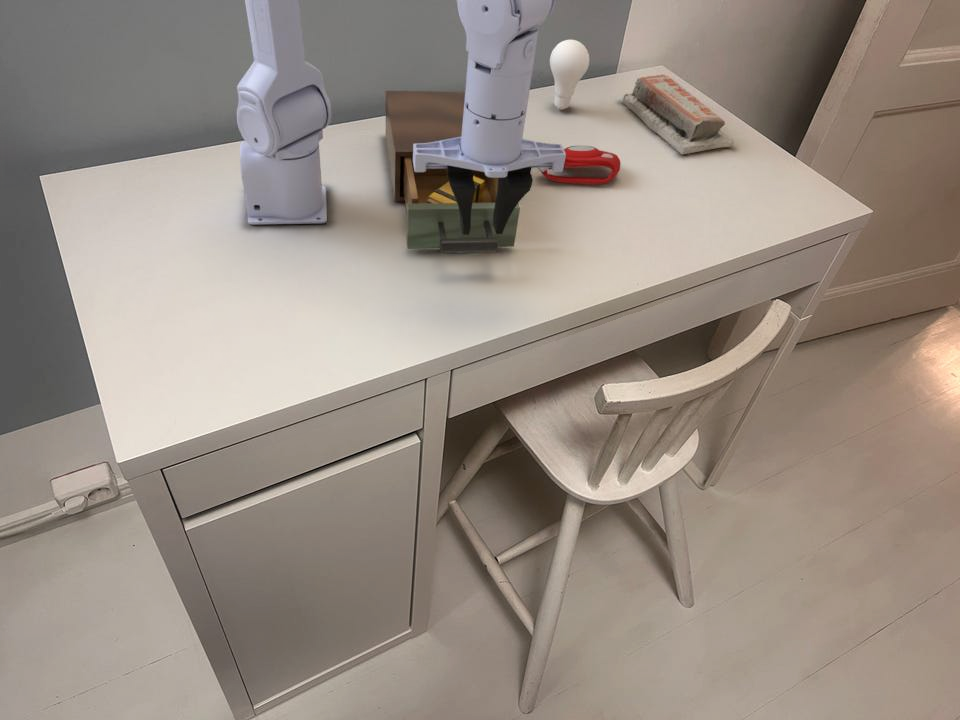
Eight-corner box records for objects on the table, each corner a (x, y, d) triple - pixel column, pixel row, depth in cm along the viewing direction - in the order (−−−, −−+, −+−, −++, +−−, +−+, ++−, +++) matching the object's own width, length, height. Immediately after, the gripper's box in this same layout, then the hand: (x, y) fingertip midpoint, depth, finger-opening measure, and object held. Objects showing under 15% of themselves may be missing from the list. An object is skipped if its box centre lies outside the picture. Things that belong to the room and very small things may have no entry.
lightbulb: (539, 99, 120) (550, 32, 112) (575, 101, 121) (588, 34, 113) (545, 117, 116) (557, 48, 108) (582, 118, 117) (596, 50, 109)
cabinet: (501, 200, 98) (508, 151, 93) (394, 202, 95) (395, 151, 90) (481, 139, 109) (486, 92, 104) (385, 138, 107) (385, 90, 101)
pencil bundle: (460, 193, 95) (462, 169, 92) (483, 203, 94) (485, 179, 91) (423, 221, 90) (424, 196, 87) (447, 232, 89) (449, 207, 86)
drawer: (522, 272, 86) (528, 233, 82) (411, 275, 84) (412, 235, 80) (492, 178, 100) (497, 141, 96) (396, 179, 98) (397, 140, 94)
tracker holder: (563, 139, 109) (628, 144, 105) (562, 169, 111) (626, 175, 107) (531, 154, 100) (600, 160, 95) (530, 186, 102) (598, 194, 98)
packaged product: (626, 74, 119) (675, 69, 122) (619, 102, 122) (667, 96, 126) (690, 127, 108) (743, 119, 111) (681, 157, 111) (732, 148, 115)
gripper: (420, 126, 62) (415, 254, 71) (583, 127, 64) (557, 250, 74) (412, 88, 66) (408, 212, 76) (564, 90, 69) (542, 210, 79)
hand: (481, 228), depth 75 cm, fingers open, 3 cm apart
